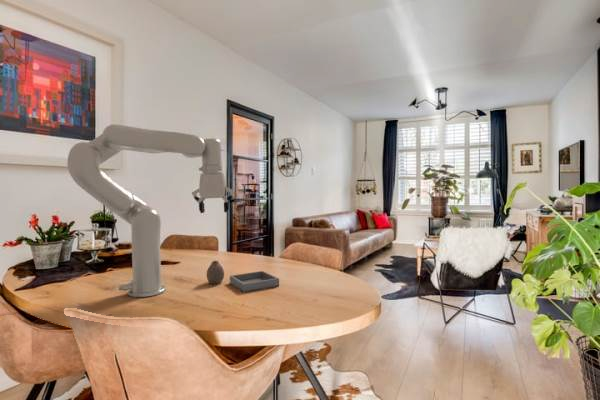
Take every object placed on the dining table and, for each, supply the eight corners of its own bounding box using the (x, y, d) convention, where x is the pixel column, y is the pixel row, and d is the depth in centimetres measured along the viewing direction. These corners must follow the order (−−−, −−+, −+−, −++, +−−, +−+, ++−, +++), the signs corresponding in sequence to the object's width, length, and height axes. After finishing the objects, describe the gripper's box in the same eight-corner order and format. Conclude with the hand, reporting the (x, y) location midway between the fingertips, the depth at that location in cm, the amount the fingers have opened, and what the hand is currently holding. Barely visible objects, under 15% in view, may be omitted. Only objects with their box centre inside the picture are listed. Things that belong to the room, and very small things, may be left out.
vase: (221, 285, 131) (221, 263, 131) (204, 285, 131) (204, 263, 131) (226, 280, 138) (225, 259, 138) (209, 280, 138) (209, 259, 138)
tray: (243, 292, 122) (243, 284, 121) (229, 283, 134) (229, 275, 134) (279, 286, 129) (279, 278, 129) (262, 277, 142) (262, 270, 142)
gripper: (187, 170, 130) (189, 213, 131) (231, 168, 130) (233, 212, 131) (194, 171, 138) (196, 212, 139) (235, 169, 137) (237, 211, 138)
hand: (214, 212), depth 135 cm, fingers open, 9 cm apart
